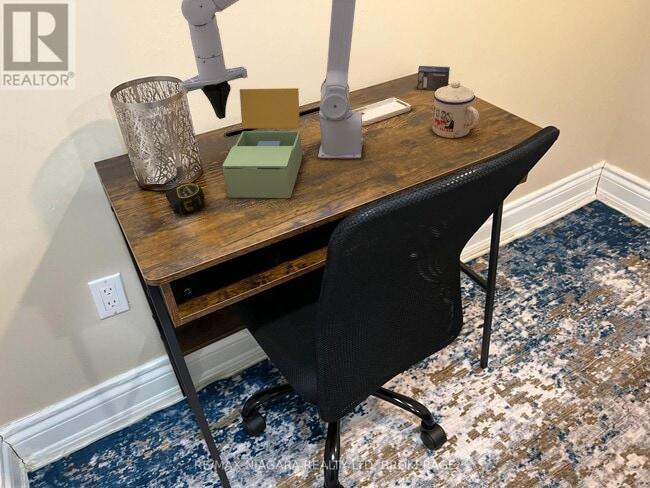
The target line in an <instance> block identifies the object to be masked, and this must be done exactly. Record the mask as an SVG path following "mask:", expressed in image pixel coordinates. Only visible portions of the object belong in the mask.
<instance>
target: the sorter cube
mask: <svg viewBox="0 0 650 488" xmlns="http://www.w3.org/2000/svg"><path fill="white" fill-rule="evenodd" d="M257 146H281V141H259V142H258V145H257ZM257 169H280V168H257Z"/></svg>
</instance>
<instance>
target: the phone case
mask: <svg viewBox="0 0 650 488" xmlns="http://www.w3.org/2000/svg"><path fill="white" fill-rule="evenodd" d="M402 103H403V104H402ZM411 109H412V106H411V104H409V103H407V102H406V101H403V100H401V99H399V98H397V97H389V98H387V99H383V100H380V101H376V102H374V103H370V104H367V105H364V106H362V107H358V108H355V109H352V111H353V112H357V113H362V127H364V126H369V125H372V124H376V123H379V122H380V121H384V120H387V119H390V118H391V117H392V118H393V117H395V116H398V115H402V114H404V113H405V114H406V113H408V112H410V111H411Z"/></svg>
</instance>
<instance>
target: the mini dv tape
mask: <svg viewBox="0 0 650 488" xmlns="http://www.w3.org/2000/svg"><path fill="white" fill-rule="evenodd" d="M450 71H451V66H434V65H433V66H432V65H418V70H417V87H416V90H422V91H423V90H424V91H436V90H438V89H439V88H441V87H445V86H448V85H449V81H450Z"/></svg>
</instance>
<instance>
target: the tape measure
mask: <svg viewBox="0 0 650 488" xmlns="http://www.w3.org/2000/svg"><path fill="white" fill-rule="evenodd" d="M165 199H166V200H167V202H168V203H169V204H170V205H171V207H172V210H173V214H177V215H178V216H181V215H184V214H186V213H189V212H193V211H195V210H197V209H199V208H200V207H201V206H202V205H204V203H205V193H204V191H203V188H202V187H201V186H200V185H199V184H197V183H195V182H183V183H179V184H178V185H175V186H173V187H172V188H169V189H168V190H166V191H165Z"/></svg>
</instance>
